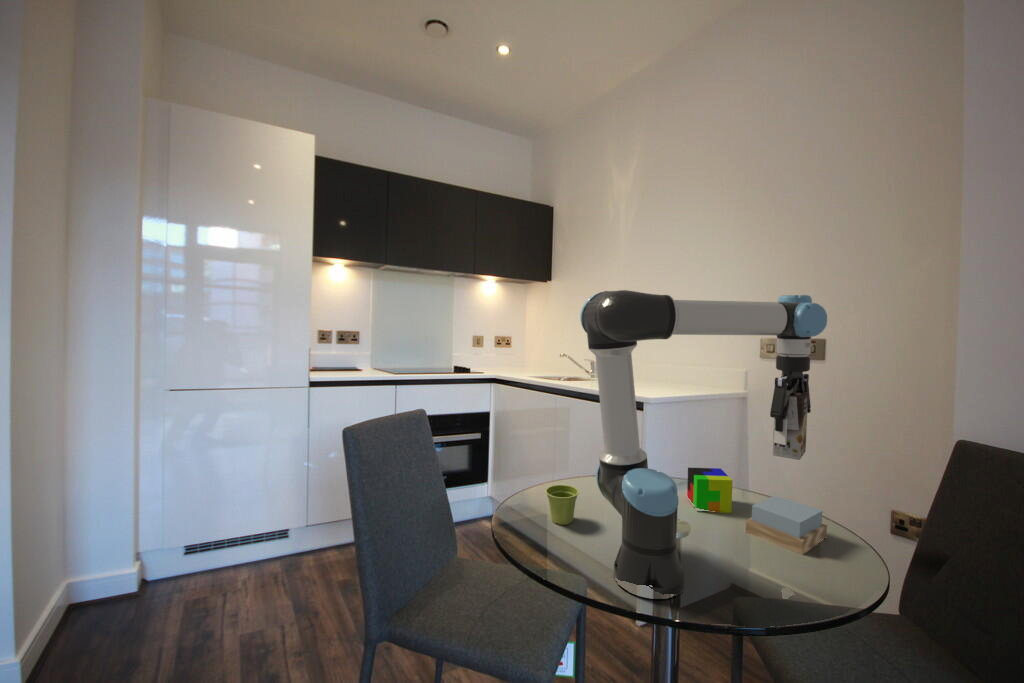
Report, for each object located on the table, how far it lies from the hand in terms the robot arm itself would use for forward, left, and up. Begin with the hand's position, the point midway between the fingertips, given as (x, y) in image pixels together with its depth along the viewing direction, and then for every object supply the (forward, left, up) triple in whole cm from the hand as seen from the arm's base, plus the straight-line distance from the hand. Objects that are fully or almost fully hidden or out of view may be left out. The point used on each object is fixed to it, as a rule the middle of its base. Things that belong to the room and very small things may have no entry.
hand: (789, 439), depth 122 cm
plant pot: (-42, +42, -26) cm, 65 cm away
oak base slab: (0, 0, -27) cm, 27 cm away
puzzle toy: (+1, +23, -26) cm, 35 cm away
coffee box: (0, 0, -4) cm, 4 cm away
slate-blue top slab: (0, 0, -23) cm, 23 cm away
